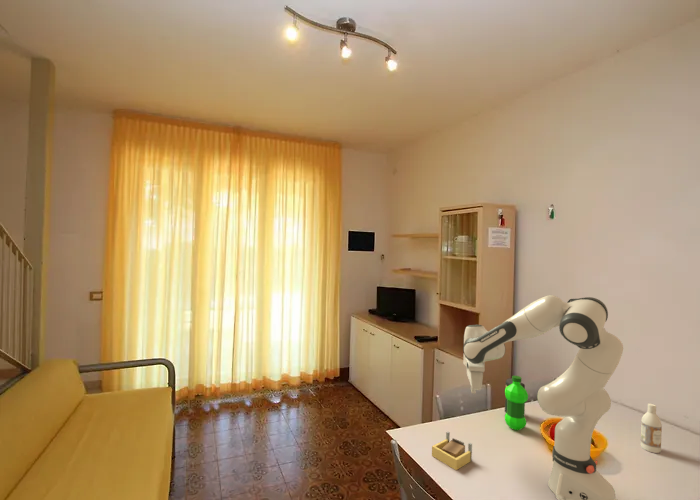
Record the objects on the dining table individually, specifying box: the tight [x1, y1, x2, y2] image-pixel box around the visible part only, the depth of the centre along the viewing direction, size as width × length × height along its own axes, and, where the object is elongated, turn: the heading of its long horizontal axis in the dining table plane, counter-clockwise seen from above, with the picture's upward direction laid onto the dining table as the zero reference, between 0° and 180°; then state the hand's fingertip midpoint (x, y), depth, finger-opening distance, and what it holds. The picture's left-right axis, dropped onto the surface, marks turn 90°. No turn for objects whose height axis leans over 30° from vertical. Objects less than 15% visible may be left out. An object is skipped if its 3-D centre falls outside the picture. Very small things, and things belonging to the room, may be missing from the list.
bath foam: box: [640, 402, 663, 454], centre depth 158 cm, size 7×7×20 cm
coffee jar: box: [504, 377, 526, 414], centre depth 188 cm, size 10×8×19 cm
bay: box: [431, 431, 473, 471], centre depth 147 cm, size 12×11×7 cm
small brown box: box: [442, 438, 466, 458], centre depth 148 cm, size 6×9×5 cm, turn 138°
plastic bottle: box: [504, 375, 529, 431], centre depth 174 cm, size 10×10×25 cm
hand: (473, 392), depth 155 cm, fingers closed
